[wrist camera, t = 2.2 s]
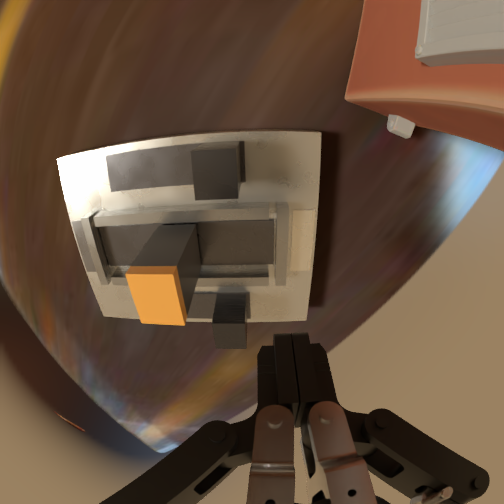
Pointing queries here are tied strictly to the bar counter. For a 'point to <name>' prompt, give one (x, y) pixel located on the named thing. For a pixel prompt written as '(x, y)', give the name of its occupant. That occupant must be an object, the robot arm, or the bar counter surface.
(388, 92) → the orange rectangular box
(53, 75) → the bar counter surface
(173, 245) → the block
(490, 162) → the bar counter surface
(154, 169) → the breaker board
